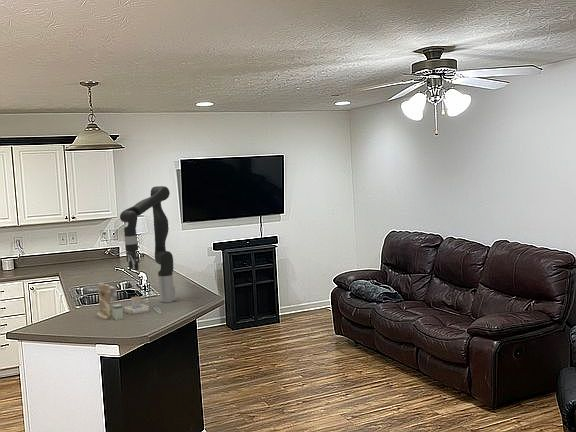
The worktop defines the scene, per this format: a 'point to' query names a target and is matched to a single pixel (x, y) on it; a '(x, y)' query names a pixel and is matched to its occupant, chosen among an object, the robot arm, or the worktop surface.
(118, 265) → the worktop surface
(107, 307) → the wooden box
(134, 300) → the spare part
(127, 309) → the tray
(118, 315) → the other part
